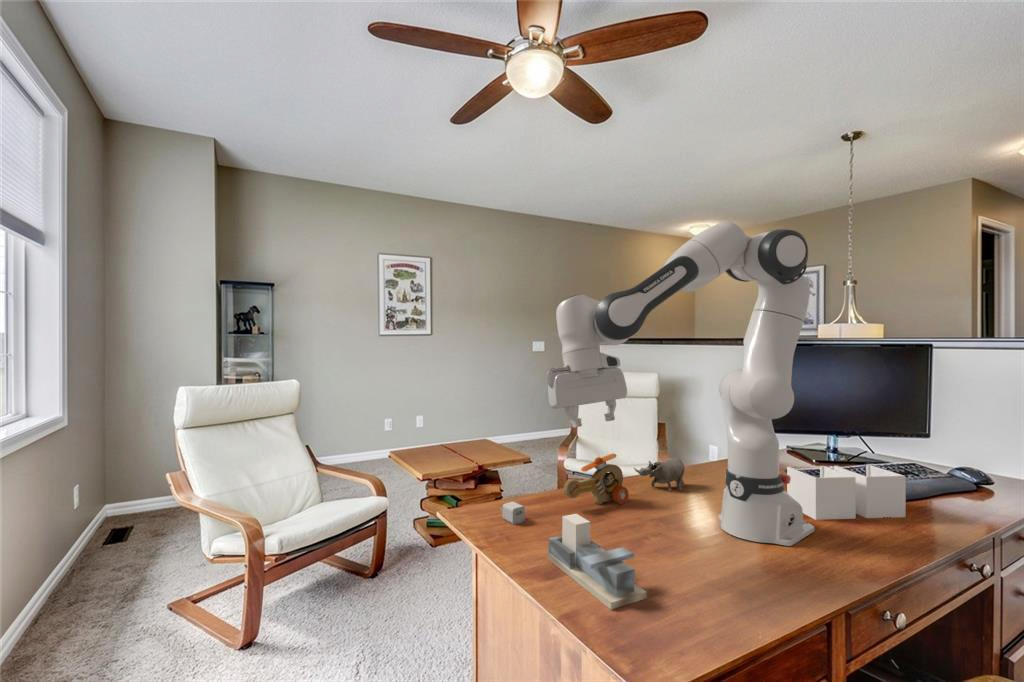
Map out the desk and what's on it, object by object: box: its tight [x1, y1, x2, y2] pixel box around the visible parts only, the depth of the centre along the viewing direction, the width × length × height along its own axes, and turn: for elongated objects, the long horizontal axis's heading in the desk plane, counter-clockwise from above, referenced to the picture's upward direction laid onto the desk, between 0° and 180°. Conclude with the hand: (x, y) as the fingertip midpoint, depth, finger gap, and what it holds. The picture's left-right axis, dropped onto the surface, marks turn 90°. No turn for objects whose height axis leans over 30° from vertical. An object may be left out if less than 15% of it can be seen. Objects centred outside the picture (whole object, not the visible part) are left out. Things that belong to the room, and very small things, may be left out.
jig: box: [546, 535, 648, 611], centre depth 90 cm, size 10×21×6 cm, turn 27°
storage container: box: [786, 464, 907, 521], centre depth 126 cm, size 25×11×11 cm, turn 95°
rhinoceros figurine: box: [633, 456, 686, 492], centre depth 146 cm, size 8×14×15 cm
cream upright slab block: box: [561, 513, 591, 565], centre depth 96 cm, size 4×5×8 cm
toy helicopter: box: [563, 453, 629, 505], centre depth 131 cm, size 8×21×14 cm, turn 122°
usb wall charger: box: [499, 501, 526, 525], centre depth 120 cm, size 4×7×4 cm, turn 37°
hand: (594, 423), depth 106 cm, fingers open, 8 cm apart
